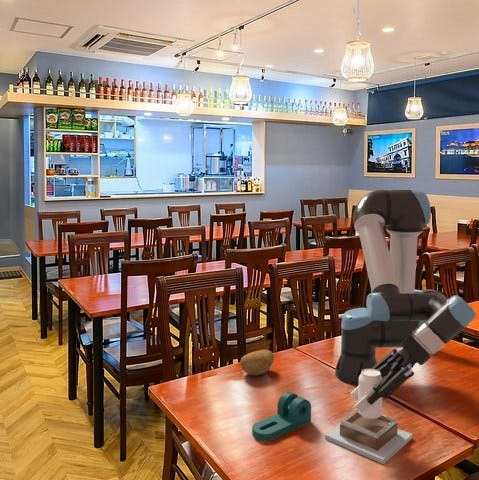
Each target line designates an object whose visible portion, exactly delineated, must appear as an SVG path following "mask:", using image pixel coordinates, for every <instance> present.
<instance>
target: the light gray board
mask: <svg viewBox="0 0 479 480" xmlns="http://www.w3.org/2000/svg"><path fill="white" fill-rule="evenodd" d="M340 424H341V423H339V424H338V425H337V426H335V427H334V428H333V429H331V430H329V431H328V432H327V433H325V434H324V439H325V440H327V441H329V442H331V443H333V444H336V445H339V446H341V447H342V448H346V449H348V450H350V451H351V452H352V451H353V452H354V453H356V454H359V455H361V456H364V457H366V458H368V459H371V460H372V461H375V462H378V463H380V464H382V465H385V464H387V463H386V462H388V461H389V460H390V459H391V458H392V457H393V456H395V455H396V454H397V453H398V452H399V451H400V450H401V449H402V448H403V447H405V445H407V444H408V443H409V442H410V441H411V440H412V439H413V433H410V432H408V431H405V430H402V429H399V428H398V431H397V435H395V436H394V437H393V438H392V439H391V440H390V441H388V442H387V443H386V444H385V445H384V446H383V447H381V448H380V449H379V450H378V451H377V450H374V449H372V448H370V447H367V446H365V445H362V444H360V443H358V442H355V441H353V440H350V439H348V438H346V437H343V436H341V435H340Z"/></svg>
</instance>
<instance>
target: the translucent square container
mask: <svg viewBox="0 0 479 480" xmlns="http://www.w3.org/2000/svg"><path fill="white" fill-rule="evenodd" d="M349 423H352V424H355V425H357V426H360V427H362V428H365V429H367V430H370V431H372V432H375V433H377V432H378V431H379V430H381V429H382V428H383V427H384V426H386V425H387V424H388V423H389V422H387V421H385V420H382V419H379V418H377V419H366V418H364V417H363V416H361V415H360V414H359V415H358V416H356V417H355V418H354V419H352V420H351V421H349ZM339 424H340V435H341V436H343V437H346V438H348V439H350V440H353V441H355V442H358V443H360V444H362V445H365V446H367V447H370V448H372V449H374V450H377V451H378V450H379V449H380V448H381V447H383V446H384V445H385V444H386V443H387V442H388V441H390V440H391V439H392V438H393V437H394V436H395V435H397V431H398V429H399V428H398V427H399V425H398V422H397V424H395V425H394V426H393V427H392V428H390V429H389V430H388V431H387V432H386V433H384V434H383V435H382V436H381V437H380V438H378V439H376V438H373V437H371V436H368V435H366V434H363V433H361V432H359V431H356V430H354V429H351V428H349V427H346V426H344V425H341V423H339Z"/></svg>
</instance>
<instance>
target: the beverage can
mask: <svg viewBox="0 0 479 480" xmlns="http://www.w3.org/2000/svg"><path fill="white" fill-rule="evenodd" d="M383 379H384V378H382V376H381V373H380V372H379V371H378V370H375V369H364V370H362V371H361V374H360V376H359V384H358V386H357V387H358V401H360V400H361V399H362V398H363V397H364V396H365V395H366V394H367V393H369V392H370V391H371V390H372V389H373V387H375V388H377V387H378V385H379V384H380V383H381V382H382V381H383ZM383 399H384V398H381V397H380V398H379V399H378V400H377V401H376V402H375V403H374V404H372V405H371V406H370V407H369V408H368V409H367V410H366V411H365V412H363V413H361V412H360V411H359V410H358V409H357V410H358V413H359V414H360V415H361V416H363V417H364V418H366V419H377V418H378V417H380V416H381V415H383ZM358 401H357V402H358Z"/></svg>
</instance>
